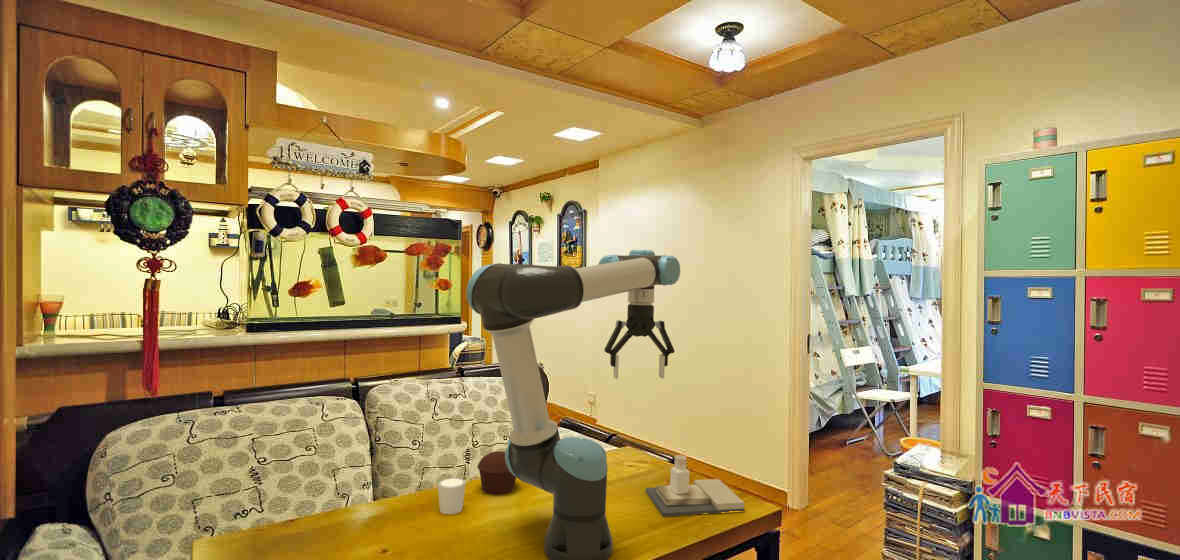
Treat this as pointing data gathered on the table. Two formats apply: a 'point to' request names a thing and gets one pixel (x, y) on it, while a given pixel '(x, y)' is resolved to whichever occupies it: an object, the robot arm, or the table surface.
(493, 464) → the muffin
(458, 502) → the white tapered cylinder
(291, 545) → the table surface
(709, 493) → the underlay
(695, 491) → the plank
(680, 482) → the salt shaker
